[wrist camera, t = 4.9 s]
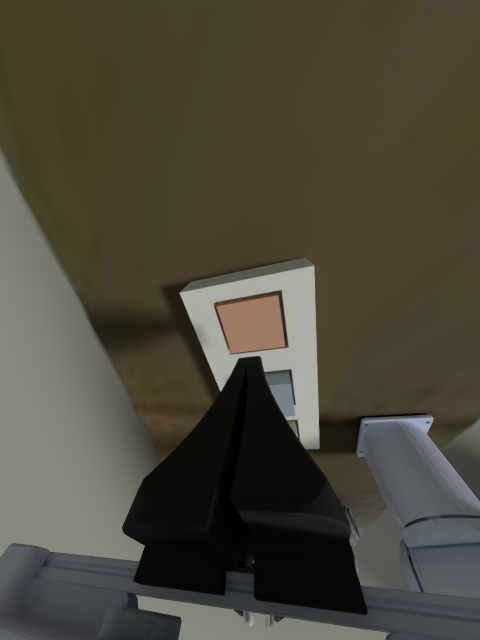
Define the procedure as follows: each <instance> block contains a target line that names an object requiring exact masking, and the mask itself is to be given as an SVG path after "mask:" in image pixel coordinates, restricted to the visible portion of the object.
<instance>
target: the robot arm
mask: <svg viewBox="0 0 480 640" xmlns="http://www.w3.org/2000/svg"><path fill="white" fill-rule="evenodd" d="M432 422H433V418H432V416H431V415H414V416H394V417H374V418H363V419H362V420H361V424H360V431H359V437H358V443H357V449H356V454H357V456H358V457H365V459H366V461H367V464H368V466H369V468H370V470H371V472H372V475H373V477H374V479H375V481H376V484H377V486H378V488H379V490H380V492H381V495H382V497H383V499H384V501H385V504H386V506H387V507H388V509H389V511H390V512H391V514H392V515H393V517H394V518H395V519H396V520H397V521H398V522H399V524H401V526H403V527H404V528H400V532H401V534H402V536H403V538H404V540H401V542H400V560H401V564H402V568H403V572H404V575H405V578H406V580H407V583H408V586H409V588H410V591H406V590H396V589H387V588H378V587H369V586H361V585H360V582H359V578H358V575H357V571H356V568H355V559H354V556H353V552H352V549H351V545H350V542H349V541H350V536H351V532H352V531H351V526H350V523H349V521H348V518H347V516H346V513H345V511H344V509H343V507H342V505H341V503H340V501H339V500H338V498H337V496H336V494H335V492H334V491H333V489H332V487H331V485H330V483H329V481H328V480H327V478H326V476H325V475H324V474H323V472H322V471H321V470H320V468H319V467H318V466H317V464H316V463H315V462H314V460H313V459H312V457H311V456H310V455H309V453H308V452H307V450H306V449H305V448H304V446H303V445H302V443H301V442H300V440H299V439H298V437H297V436H296V434H295V433H294V431H293V429H292V428H291V426H290V425H289V423H288V422H287V420H286V418H285V417H284V415H283V413H282V411H281V410H280V408H279V406H278V404H277V402H276V400H275V398H274V396H273V394H272V392H271V390H270V387H269V385H268V383H267V380H266V377H265V373H264V368H263V364H262V359H261V357H260V356H252V357H244V358H239V359H238V360H237V363H236V365H235V367H234V369H233V371H232V373H231V375H230V377H229V378H228V380H227V382H226V384H225V386H224V387H223V389H222V390H221V392H220V394H219V395H218V397H217V398H216V400H215V401H214V403H213V404H212V406H211V407H210V409H209V410H208V411H207V413H206V414H205V415H204V417H203V418H202V419H201V420H200V422H199V423H198V424H197V425H196V427H195V428H194V429H193V430H192V431H191V432H190V434H189V435H188V436H187V437H186V438H185V439H184V440H183V441H182V442H181V443H180V444H179V445H178V446H177V448H176V449H175V450H174V451H173V452H172V453H171V454H170V455H169V456H168V457H167V458H166V459H165V460H164V461H162V462H161V463H160V464H159V465H158V466H157V467H156V468H155V469H154V470H153V471H152V472H151V473H150V474H149V475H147V476H146V477H145V478H144V479H143V482H142V483H141V486H140V487H139V489H138V492H137V494H136V496H135V499H134V501H133V503H132V506H131V508H130V510H129V513H128V515H127V517H126V520H125V522H124V524H123V527H122V530H123V532H124V534H126V535H127V536H129V537H130V538H132V539H134V540H136V541H138V542H139V543H141V544H143V545H145V547H144V550H143V553H142V556H141V559H140V561H130V560H120V559H111V558H103V557H93V556H84V555H75V554H66V553H57V552H49V550H48V549H45V548H42V547H38V546H33V545H25V544H15V543H13V544H11V545H9V546H8V548H7V549H6V550H5V552H4V553H3V554H2V556H1V557H0V640H178V637H179V632H180V627H181V617H177V616H172V615H167V614H162V613H157V612H152V611H146V610H140V609H139V608H138V599H137V596H136V595H139V596H146V597H153V598H159V599H166V600H173V601H179V602H186V603H193V604H200V605H207V606H213V607H220V608H226V609H233V610H240V611H246V612H253V613H260V614H267V615H273V616H280V617H287V618H294V619H300V620H307V621H313V622H320V623H327V624H333V625H340V626H347V627H354V628H360V629H367V630H374V631H381V632H387V633H390V634H388V635H387V637H386V640H480V502H479V500H478V499H477V498H476V497H475V495H474V494H473V493H472V491H471V490H470V489H469V488H468V487H467V485H466V484H465V483H464V481H463V480H462V479H461V477H460V476H459V475H458V474H457V472H456V471H455V470H454V469H453V467H452V466H451V465H450V463H449V462H448V461H447V460H446V458H445V457H444V456H443V455H442V453H441V452H440V451H439V449H438V448H437V447H436V446H435V444H434V443H433V442H432V440H431V439H430V438H429V437H428V435H427V432H428V430H429V428H430V426H431V424H432ZM253 561H254V574H250V573H241V572H238V568H241V569H246V566H250V565H251V564H252V562H253Z"/></svg>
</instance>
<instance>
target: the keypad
mask: <svg viewBox="0 0 480 640" xmlns="http://www.w3.org/2000/svg"><path fill="white" fill-rule="evenodd" d="M273 291H277V292H278V296H279V304H280V311H281V319H282V326H283V333H284V341H285V347H279V348H271V349H263V350H255V351H247V352H239V353H231V350H230V347H229V344H228V341H227V337H226V334H225V331H224V328H223V325H222V322H221V319H220V316H219V313H218V309H217V304H218V302H219V301H224V300H230V299H235V298H241V297H246V296H252V295H257V294H262V293H268V292H273ZM180 295H181V298H182V300H183V303H184V305H185V307H186V310H187V312H188V315H189V317H190V319H191V322H192V324H193V327H194V329H195V331H196V334H197V336H198V339H199V341H200V343H201V346H202V348H203V351H204V353H205V356H206V358H207V360H208V363H209V365H210V368H211V370H212V372H213V375H214V377H215V380H216V382H217V384H218V387H219V389H220V392H221V390H222V389H223V387H224V386H225V384H226V382H227V380H228V378H229V377H230V375H231V373H232V371H233V369H234V367H235V365H236V363H237V360H238V359H239V358H244V357H252V356H260V357H261V359H262V364H263V368H264V372H269V371H278V370H288V371H289V376H290V381H291V387H292V395H293V403H294V410H295V416H289V417H285V418H286V420H295V422H296V428H297V433H298V439H299V440H300V442H301V443H302V445H303V446H304V448H305V449H320V446H319V413H318V380H317V346H316V313H315V280H314V265H313V264H312V263H310V262H309V261H308V260H307V259H306V258H301V259H296V260H291V261H286V262H282V263H277V264H272V265H267V266H263V267H258V268H253V269H249V270H244V271H239V272H234V273H230V274H225V275H220V276H216V277H211V278H206V279H201V280H197V281H192V282H190V283H189V284H188V285H187V286H186V287H185V288H184V289H183V290H182V291H181V292H180Z"/></svg>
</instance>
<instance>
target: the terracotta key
mask: <svg viewBox="0 0 480 640" xmlns="http://www.w3.org/2000/svg"><path fill="white" fill-rule="evenodd" d="M217 309H218V313H219V316H220V319H221V322H222V325H223V328H224V331H225V334H226V337H227V341H228V344H229V347H230V350H231V353H239V352H247V351H255V350H263V349H271V348H279V347H285V341H284V333H283V326H282V319H281V311H280V304H279V296H278V292H277V291H273V292H268V293H262V294H257V295H252V296H246V297H241V298H235V299H230V300H224V301H219V302H218V304H217Z"/></svg>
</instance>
